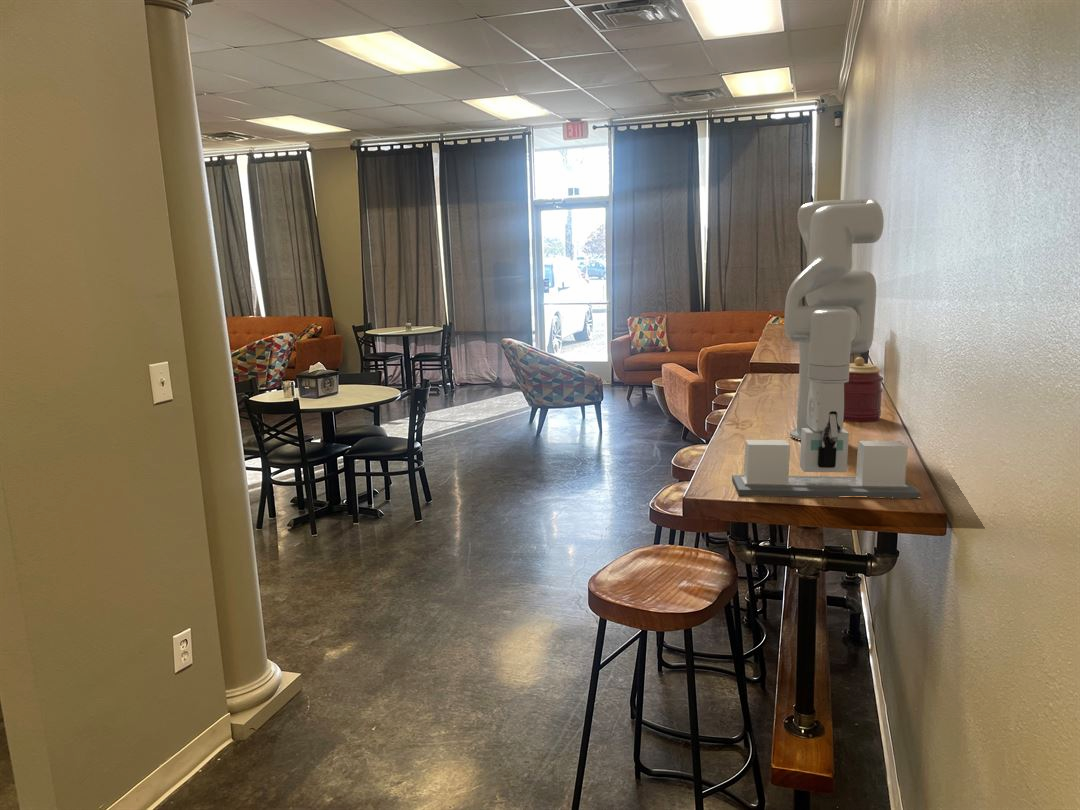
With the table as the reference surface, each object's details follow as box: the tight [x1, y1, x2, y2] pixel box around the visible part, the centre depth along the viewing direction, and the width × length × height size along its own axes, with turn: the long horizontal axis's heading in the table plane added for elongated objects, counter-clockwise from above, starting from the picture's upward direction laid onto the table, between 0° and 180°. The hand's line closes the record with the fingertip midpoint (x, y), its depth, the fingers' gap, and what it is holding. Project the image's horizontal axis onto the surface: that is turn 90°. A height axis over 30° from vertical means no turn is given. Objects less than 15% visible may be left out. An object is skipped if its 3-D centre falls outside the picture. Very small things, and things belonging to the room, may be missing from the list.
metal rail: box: [741, 477, 908, 489], centre depth 146 cm, size 5×31×1 cm, turn 83°
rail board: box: [731, 474, 922, 499], centre depth 146 cm, size 10×34×1 cm, turn 83°
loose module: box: [799, 428, 850, 473], centre depth 145 cm, size 4×8×8 cm, turn 83°
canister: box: [843, 356, 884, 423], centre depth 208 cm, size 13×13×18 cm
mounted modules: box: [743, 439, 909, 486], centre depth 145 cm, size 4×30×8 cm, turn 83°
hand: (823, 462), depth 145 cm, fingers closed on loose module, 4 cm apart
